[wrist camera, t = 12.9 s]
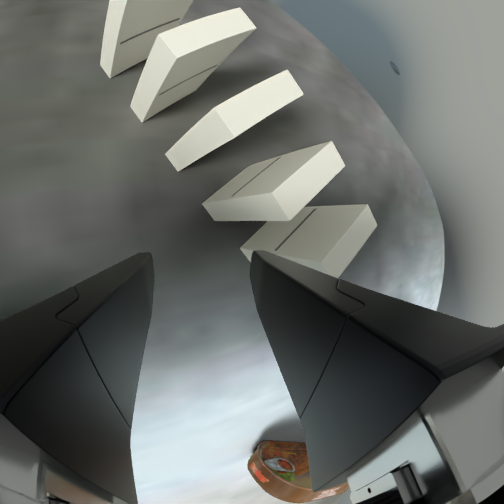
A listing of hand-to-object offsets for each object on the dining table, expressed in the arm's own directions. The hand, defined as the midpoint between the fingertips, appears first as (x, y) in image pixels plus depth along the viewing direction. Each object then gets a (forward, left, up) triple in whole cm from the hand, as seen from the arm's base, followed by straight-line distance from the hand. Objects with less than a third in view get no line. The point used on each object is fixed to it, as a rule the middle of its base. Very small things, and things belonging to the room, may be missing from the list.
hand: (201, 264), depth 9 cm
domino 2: (+10, -4, -11) cm, 15 cm away
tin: (-27, -5, -11) cm, 30 cm away
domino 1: (+14, -2, -11) cm, 18 cm away
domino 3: (+6, -6, -11) cm, 13 cm away
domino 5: (-3, -9, -11) cm, 14 cm away
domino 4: (+2, -7, -11) cm, 13 cm away
